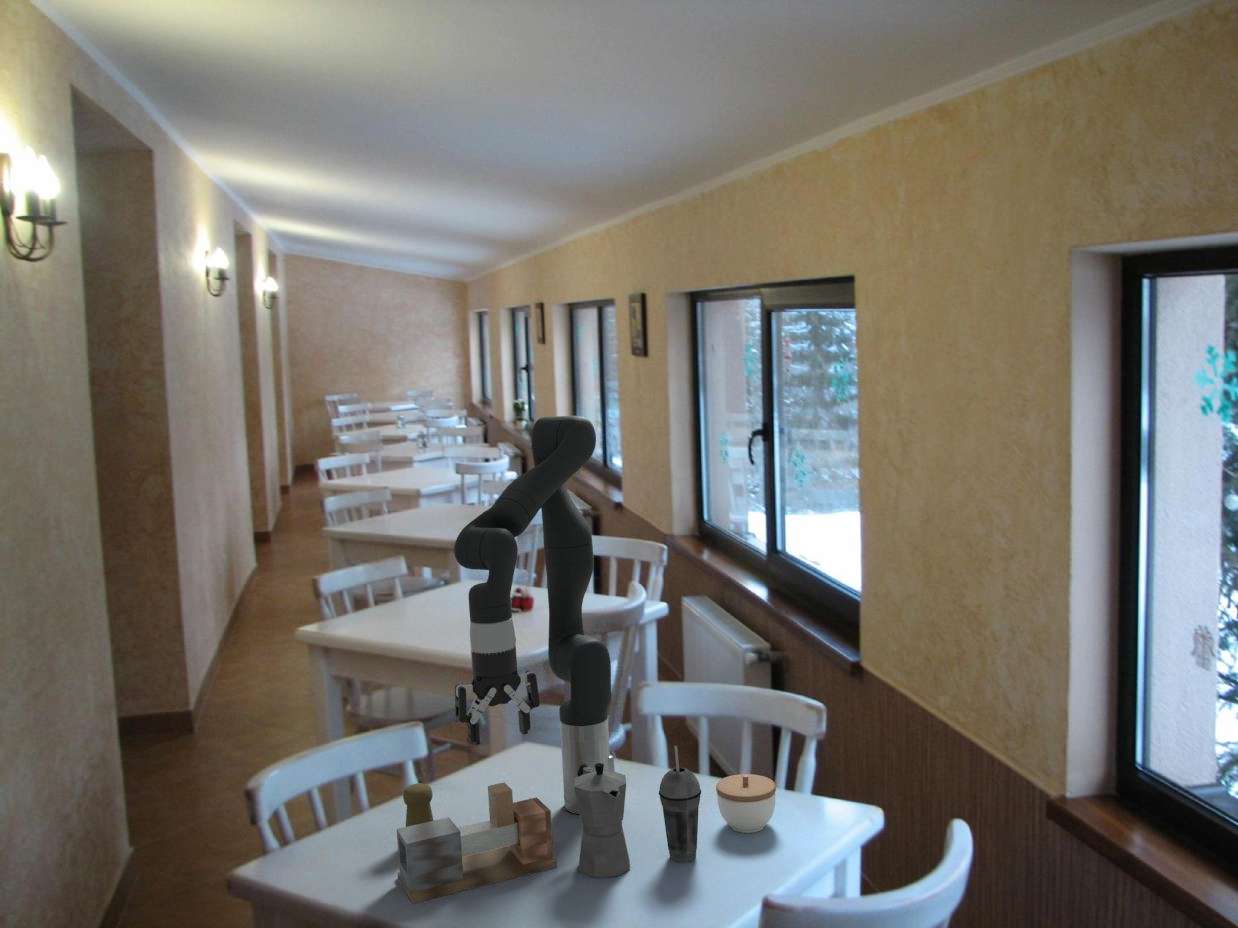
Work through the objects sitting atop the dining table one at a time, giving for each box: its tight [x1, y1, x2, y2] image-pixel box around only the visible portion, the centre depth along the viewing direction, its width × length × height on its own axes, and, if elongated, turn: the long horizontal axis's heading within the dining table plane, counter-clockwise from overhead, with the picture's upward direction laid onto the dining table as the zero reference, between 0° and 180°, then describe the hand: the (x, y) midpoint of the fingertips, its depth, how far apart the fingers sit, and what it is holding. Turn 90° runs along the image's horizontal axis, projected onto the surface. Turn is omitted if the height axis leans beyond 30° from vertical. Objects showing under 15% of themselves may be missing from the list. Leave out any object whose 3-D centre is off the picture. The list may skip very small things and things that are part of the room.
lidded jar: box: [715, 773, 777, 834], centre depth 201 cm, size 11×11×9 cm
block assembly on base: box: [396, 796, 558, 904], centre depth 188 cm, size 25×10×9 cm, turn 115°
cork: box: [402, 782, 435, 827], centre depth 200 cm, size 6×6×11 cm
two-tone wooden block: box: [457, 781, 520, 857], centre depth 188 cm, size 17×4×10 cm, turn 115°
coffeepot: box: [574, 763, 631, 879], centre depth 188 cm, size 15×9×18 cm, turn 25°
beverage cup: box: [658, 745, 702, 864], centre depth 189 cm, size 7×7×20 cm
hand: (500, 738), depth 188 cm, fingers open, 8 cm apart
